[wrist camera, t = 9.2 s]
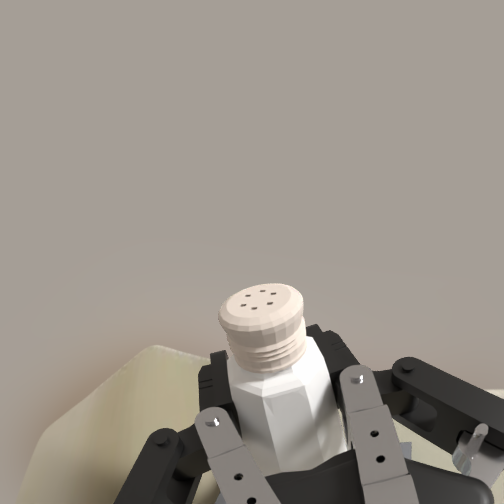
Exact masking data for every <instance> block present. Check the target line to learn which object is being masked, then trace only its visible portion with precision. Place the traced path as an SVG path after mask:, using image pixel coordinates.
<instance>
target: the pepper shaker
mask: <svg viewBox="0 0 504 504" xmlns="http://www.w3.org/2000/svg"><path fill="white" fill-rule="evenodd" d="M302 314H303V297H302V295H301V294H300V293H299V292H298V291H297V290H296V289H294V288H293V287H291V286H288V285H284V284H262V285H256V286H253V287H249V288H246V289H244V290H241V291H239V292H237V293H235V294H234V295H232V296H231V297H229V298H228V299H227V300H226V301H225V302H224V303H223V304H222V306H221V308H220V311H219V313H218V319H219V322H220V324H221V326H222V327H223V329H224V330H225V332H226V333H227V340H228V342H229V346H230V349H231V351H232V352H233V355H232V356H231V357H230V358H229V359H228V360H227V370H228V379H229V385H230V391H231V396H232V400H233V402H234V404H235V407H236V410H237V413H238V418H239V423H240V429H241V434H242V440H243V443H244V444H245V445H246V447H247V448H248V450H249V452H250V453H251V455H252V457H253V459H254V460H255V462H256V464H257V465H258V467H259V469H260V471H261V472H262V474H263V476H264V477H266V476H270V475H274V474H277V473H281V472H293V471H304V470H311V469H313V468H315V467H317V466H318V465H320V464H322V463H323V462H325V461H327V460H328V459H330V458H332V457H333V456H335V455H338V454H340V453H343V452H346V451H347V447H346V443H345V438H344V434H343V429H342V425H341V421H340V417H339V412H338V408H337V404H336V400H335V396H334V392H333V388H332V384H331V380H330V376H329V372H328V369H327V366H326V363H325V360H324V358H323V356H322V354H321V352H320V350H319V348H318V347H317V345H316V343H315V341H314V339H313V337H308V336H306V328H305V320H304V318H303V316H302Z"/></svg>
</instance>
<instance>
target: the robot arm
mask: <svg viewBox="0 0 504 504" xmlns="http://www.w3.org/2000/svg"><path fill="white" fill-rule="evenodd" d="M305 328H306V336H308V337H313V339H314V341H315V343H316V345H317V347H318V348H319V350H320V352H321V354H322V356H323V358H324V360H325V363H326V366H327V369H328V372H329V376H330V380H331V384H332V388H333V392H334V396H335V400H336V404H337V408H338V409H340V411H341V412H342V421H343V427H344V433H345V438H346V445H347V451H346V452H343V453H340V454H338V455H335V456H333V457H332V458H330V459H328V460H327V461H325V462H323V463H322V464H320V465H318V466H317V467H315V468H313V469H311V470H304V471H293V472H281V473H277V474H274V475H270V476H266V477H264V476H263V474H262V472H261V471H260V469H259V467H258V465H257V464H256V462H255V460H254V459H253V457H252V455H251V453H250V452H249V450H248V448H247V447H246V445H245V444H244V443H243V441H242V434H241V429H240V423H239V418H238V413H237V410H236V407H235V404H234V402H233V400H232V396H231V391H230V385H229V379H228V370H227V360H228V359H229V358H228V355H227V353H226V350H223V351H219V352H215V353H211V354H210V359H211V364H210V365H206V366H202V368H201V370H200V372H199V374H198V382H199V406H200V413H199V414H198V415H197V416H196V418H195V423H194V424H193V425H192V426H190V427H189V428H187V429H184V430H182V431H180V432H178V433H177V432H176V431H174V430H173V429H169V428H163V429H159V430H157V431H155V432H153V433H152V434H151V435H150V436H149V437H148V439H147V441H146V443H145V445H144V447H143V449H142V451H141V452H140V454H139V456H138V458H137V460H136V462H135V464H134V466H133V468H132V470H131V471H130V473H129V475H128V477H127V479H126V481H125V483H124V485H123V487H122V489H121V491H120V492H119V494H118V496H117V498H116V500H115V502H114V504H192V501H193V499H194V496H195V493H196V491H197V488H198V485H199V482H200V480H201V477H202V474H203V473H205V472H207V471H209V470H212V473H213V475H214V477H215V479H216V482H217V484H218V486H219V488H220V491H221V493H222V495H223V497H224V499H225V501H226V504H494V497H493V494H492V491H491V490H490V488H491V487H492V485H493V484H494V482H495V481H496V479H497V478H498V476H499V475H500V473H501V472H502V471H503V470H504V399H502V398H499V397H497V396H495V395H493V394H491V393H489V392H486V391H484V390H482V389H480V388H478V387H476V386H474V385H471V384H469V383H467V382H465V381H463V380H461V379H459V378H457V377H454V376H452V375H450V374H448V373H446V372H444V371H442V370H440V369H438V368H436V367H433V366H432V365H429V364H427V363H425V362H423V361H421V360H419V359H416V358H414V357H404V358H401V359H399V360H397V361H396V362H395V363H394V364H393V367H392V369H390V370H384V371H372V370H371V369H370V368H368V367H366V366H364V365H360V363H359V362H358V361H357V359H356V358H355V357H354V355H353V354H352V353H351V351H350V350H349V348H348V347H347V346H346V345H345V343H344V342H343V341H342V339H341V338H340V336H339V335H338V334H336V333H334V332H333V331H331V330H329V331H326V332H322V331H321V329H320V328H319V326H318V325H317V324H314V325H311V326H308V327H305ZM392 418H393V419H394V420H396V421H397V422H399V423H401V424H402V425H404V426H405V427H407V428H409V429H410V430H412V431H413V432H415V433H417V434H418V435H420V436H421V437H423V438H425V439H426V440H428V441H430V442H431V443H433V444H435V445H436V446H438V447H440V448H441V449H443V450H445V451H446V452H448V453H450V454H451V455H452V461H453V464H454V465H455V467H456V468H457V470H458V471H460V472H461V473H462V474H459V473H455V472H451V471H447V470H444V469H440V468H436V467H433V466H430V465H426V464H423V463H420V462H416V461H413V460H410V459H407V458H404V456H403V453H402V449H401V446H400V443H399V439H398V436H397V433H396V430H395V426H394V423H393V420H392Z"/></svg>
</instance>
